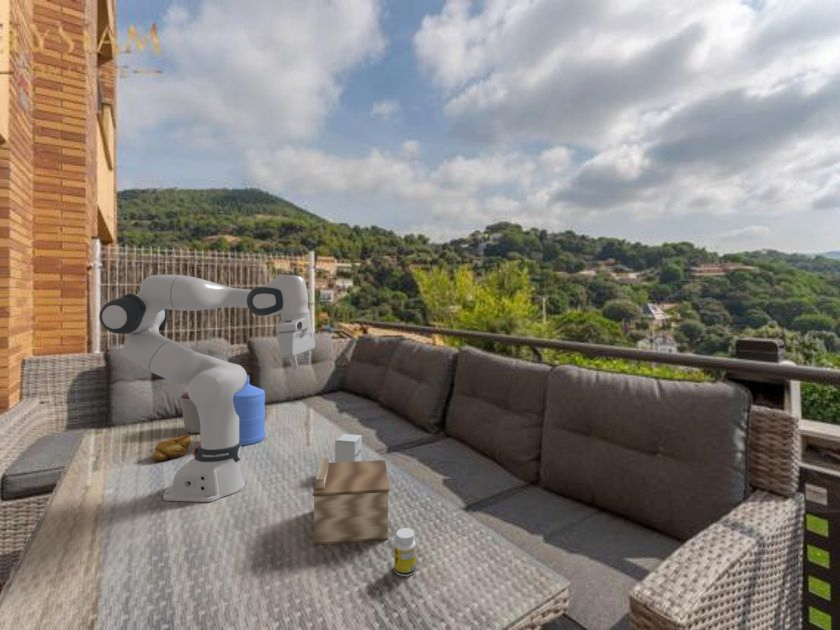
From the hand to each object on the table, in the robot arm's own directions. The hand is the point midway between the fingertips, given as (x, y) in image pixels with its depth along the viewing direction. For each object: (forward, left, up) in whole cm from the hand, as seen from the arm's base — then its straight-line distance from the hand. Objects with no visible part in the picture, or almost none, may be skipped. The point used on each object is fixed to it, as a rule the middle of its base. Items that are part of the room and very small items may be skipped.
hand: (301, 366), depth 127 cm
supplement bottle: (+29, -44, -39) cm, 66 cm away
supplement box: (+15, +9, -39) cm, 42 cm away
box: (+17, -23, -39) cm, 48 cm away
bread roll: (-53, +32, -39) cm, 74 cm away
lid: (+17, -23, -27) cm, 39 cm away
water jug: (-30, +49, -39) cm, 69 cm away
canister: (-54, +66, -39) cm, 94 cm away
